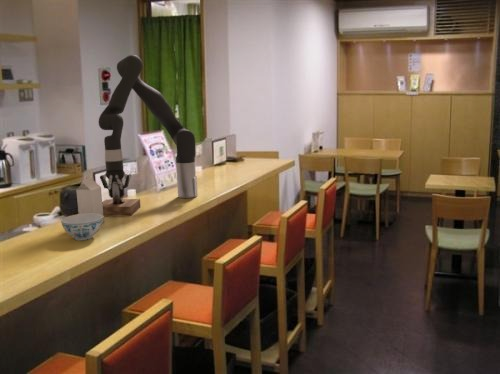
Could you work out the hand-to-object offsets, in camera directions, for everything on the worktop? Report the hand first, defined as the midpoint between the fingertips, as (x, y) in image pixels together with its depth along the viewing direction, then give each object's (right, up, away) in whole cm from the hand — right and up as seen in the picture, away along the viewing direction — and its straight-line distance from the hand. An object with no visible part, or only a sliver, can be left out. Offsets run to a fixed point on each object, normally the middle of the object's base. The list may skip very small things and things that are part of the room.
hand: (116, 197), depth 261 cm
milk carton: (-6, -11, -19) cm, 23 cm away
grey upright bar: (0, -3, +1) cm, 3 cm away
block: (0, -6, +1) cm, 7 cm away
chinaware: (-3, -15, -40) cm, 43 cm away
